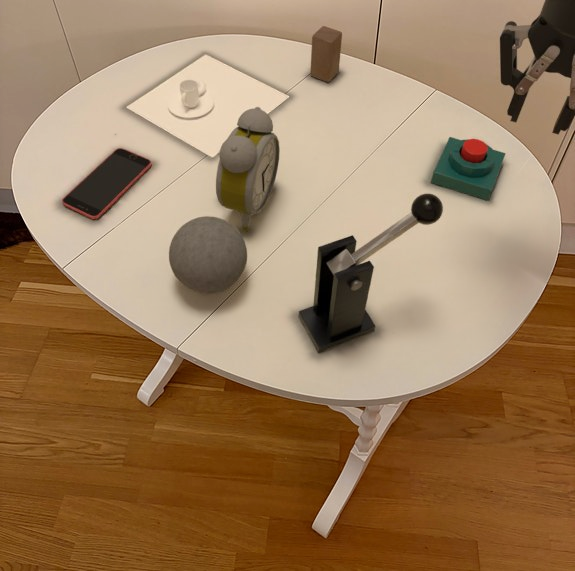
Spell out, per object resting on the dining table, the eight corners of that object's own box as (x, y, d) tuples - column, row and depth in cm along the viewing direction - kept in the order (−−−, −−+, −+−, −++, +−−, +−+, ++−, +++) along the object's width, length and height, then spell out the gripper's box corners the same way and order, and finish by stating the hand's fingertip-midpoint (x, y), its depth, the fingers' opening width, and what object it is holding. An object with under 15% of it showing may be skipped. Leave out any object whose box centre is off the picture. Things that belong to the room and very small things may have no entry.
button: (487, 151, 91) (490, 142, 90) (481, 166, 89) (484, 157, 88) (464, 144, 92) (466, 135, 90) (457, 159, 90) (460, 150, 89)
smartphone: (154, 160, 93) (95, 218, 86) (154, 163, 94) (96, 221, 87) (118, 145, 95) (58, 201, 88) (119, 148, 96) (59, 204, 88)
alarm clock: (252, 239, 85) (248, 160, 73) (209, 227, 86) (197, 147, 74) (280, 185, 92) (281, 103, 79) (239, 174, 93) (233, 92, 81)
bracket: (352, 295, 80) (364, 226, 68) (374, 330, 76) (390, 264, 65) (298, 316, 78) (301, 248, 66) (318, 353, 74) (325, 288, 63)
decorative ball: (163, 266, 82) (151, 216, 74) (229, 240, 85) (224, 190, 77) (192, 320, 77) (182, 273, 69) (261, 290, 80) (259, 242, 72)
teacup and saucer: (193, 82, 106) (190, 62, 103) (227, 100, 103) (225, 80, 100) (158, 107, 102) (154, 86, 99) (191, 126, 99) (188, 106, 96)
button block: (501, 163, 95) (509, 144, 92) (487, 200, 90) (495, 181, 87) (446, 147, 97) (452, 127, 94) (430, 182, 92) (435, 163, 89)
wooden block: (328, 83, 106) (331, 42, 100) (309, 76, 108) (311, 35, 101) (339, 72, 108) (343, 31, 102) (320, 65, 110) (323, 24, 103)
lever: (435, 197, 67) (428, 182, 65) (451, 217, 66) (445, 203, 63) (332, 268, 70) (321, 256, 67) (346, 290, 68) (335, 279, 65)
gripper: (513, -28, 54) (465, 125, 68) (682, 10, 50) (595, 163, 64) (530, -63, 58) (482, 88, 72) (687, -30, 54) (604, 122, 68)
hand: (535, 123), depth 68 cm, fingers open, 4 cm apart
